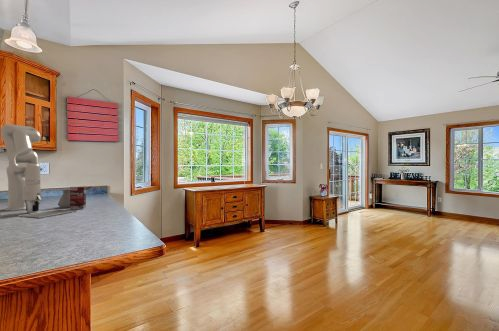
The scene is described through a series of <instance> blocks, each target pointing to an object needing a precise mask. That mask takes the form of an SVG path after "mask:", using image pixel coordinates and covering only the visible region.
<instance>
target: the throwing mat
mask: <svg viewBox="0 0 499 331" xmlns="http://www.w3.org/2000/svg"><path fill="white" fill-rule="evenodd" d="M72 212H73V213H77V211H76V210H67V209H66V210H64V209H50V210H46V211H45V210H44V211H37V213H31V214H28V213H27V214H19V215H17V216H18V218H19V217H20V218H30V219H45V217H46V218H51V217H56V216H60V215H61V216H62V215H67V214H73V213H72Z"/></svg>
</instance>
